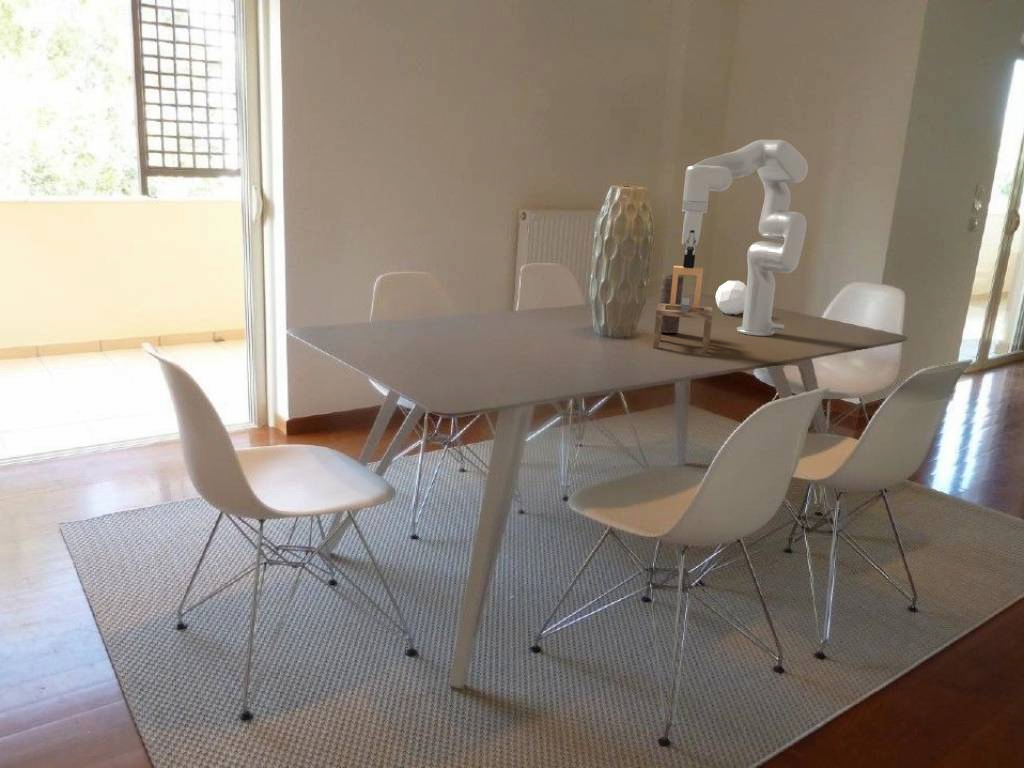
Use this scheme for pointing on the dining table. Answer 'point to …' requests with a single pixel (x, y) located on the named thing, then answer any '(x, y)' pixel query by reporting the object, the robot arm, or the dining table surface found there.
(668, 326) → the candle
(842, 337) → the dining table surface
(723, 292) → the geodesic sphere
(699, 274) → the orange cream legged block
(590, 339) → the dining table surface
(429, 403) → the dining table surface
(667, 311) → the shelf
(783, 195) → the robot arm
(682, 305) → the long charcoal crossbeam
